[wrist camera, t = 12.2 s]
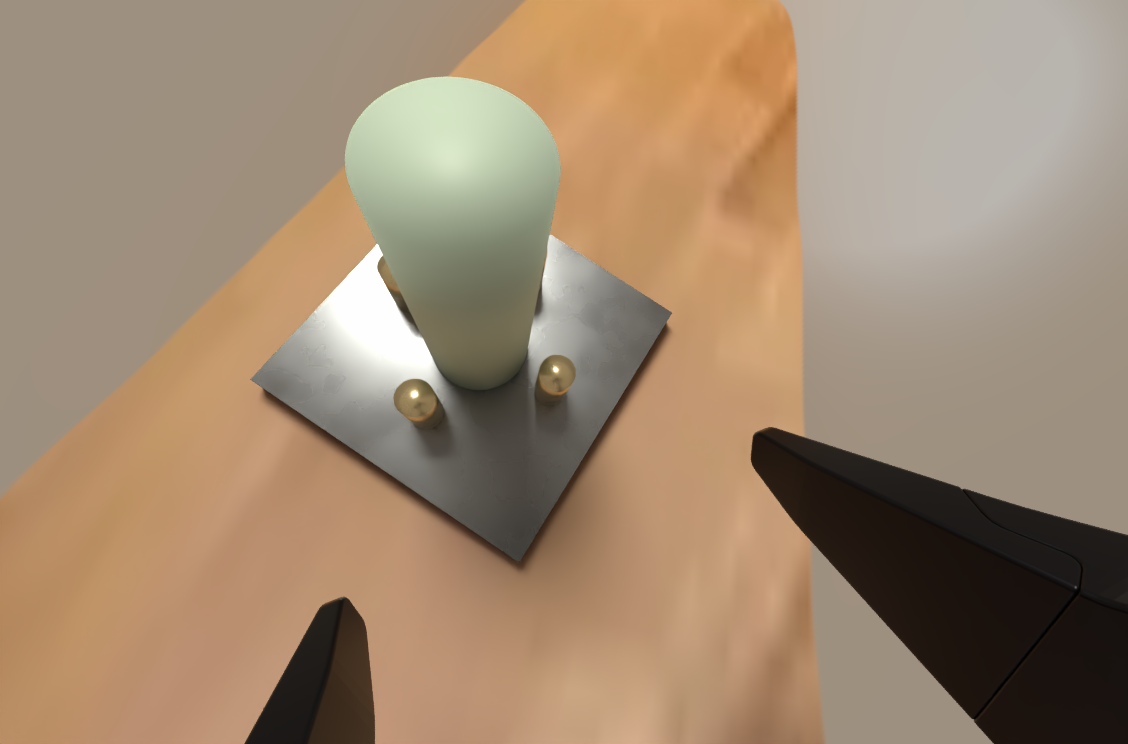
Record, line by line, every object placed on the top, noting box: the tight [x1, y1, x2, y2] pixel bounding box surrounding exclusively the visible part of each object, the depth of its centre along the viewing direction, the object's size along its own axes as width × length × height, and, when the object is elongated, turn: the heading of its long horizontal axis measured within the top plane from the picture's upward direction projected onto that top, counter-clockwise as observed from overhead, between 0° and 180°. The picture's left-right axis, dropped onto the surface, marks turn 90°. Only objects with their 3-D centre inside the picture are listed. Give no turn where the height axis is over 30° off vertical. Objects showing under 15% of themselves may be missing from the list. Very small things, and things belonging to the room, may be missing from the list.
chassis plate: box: [250, 235, 672, 562], centre depth 20 cm, size 14×14×4 cm
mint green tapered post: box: [345, 77, 561, 390], centre depth 15 cm, size 4×4×12 cm
